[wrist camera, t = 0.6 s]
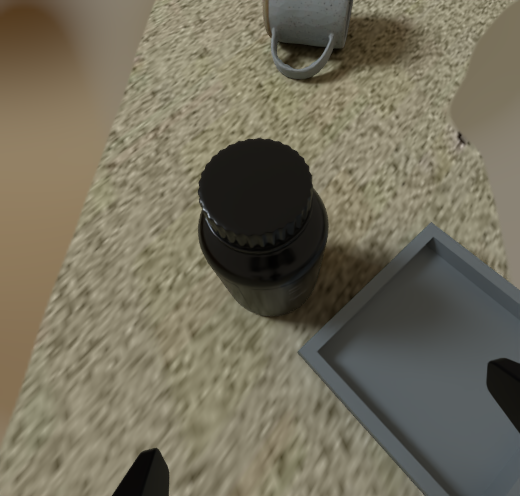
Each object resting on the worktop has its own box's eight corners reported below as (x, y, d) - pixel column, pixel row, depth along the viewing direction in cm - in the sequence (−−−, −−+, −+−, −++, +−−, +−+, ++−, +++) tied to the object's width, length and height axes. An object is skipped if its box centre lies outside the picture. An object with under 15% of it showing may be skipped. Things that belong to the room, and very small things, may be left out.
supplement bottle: (300, 222, 25) (312, 102, 14) (329, 303, 22) (370, 234, 11) (217, 244, 25) (163, 140, 14) (237, 329, 22) (188, 284, 11)
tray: (590, 369, 20) (622, 369, 18) (463, 538, 17) (484, 558, 15) (419, 233, 24) (431, 222, 22) (297, 352, 21) (298, 350, 20)
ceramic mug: (277, 11, 35) (274, -79, 28) (350, 16, 34) (367, -78, 27) (256, 80, 32) (247, -4, 25) (337, 88, 30) (352, 2, 23)
